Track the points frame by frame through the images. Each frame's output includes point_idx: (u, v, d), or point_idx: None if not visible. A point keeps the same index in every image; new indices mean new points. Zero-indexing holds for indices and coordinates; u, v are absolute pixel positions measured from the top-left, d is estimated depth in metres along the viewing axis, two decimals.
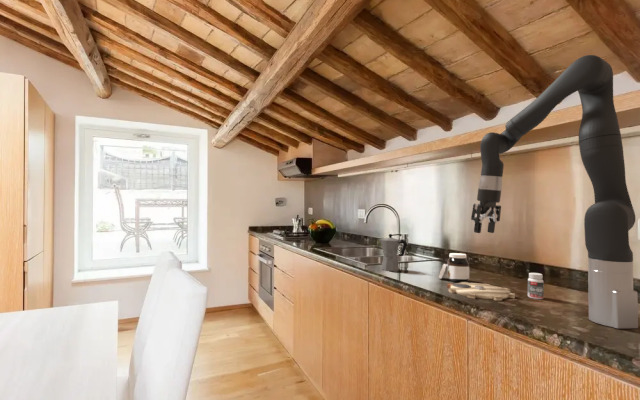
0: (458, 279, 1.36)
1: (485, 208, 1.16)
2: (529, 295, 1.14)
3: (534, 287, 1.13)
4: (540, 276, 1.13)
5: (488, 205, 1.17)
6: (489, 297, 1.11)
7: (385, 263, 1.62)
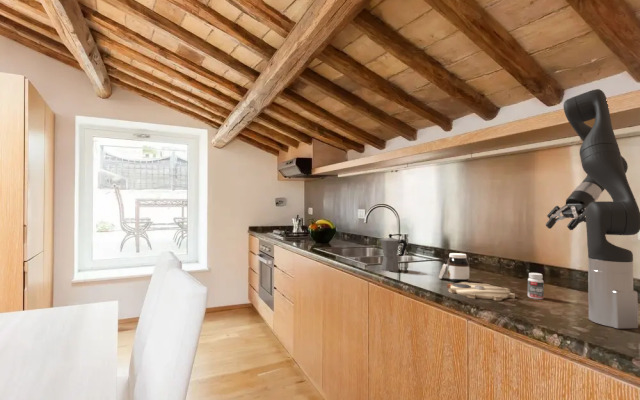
0: (458, 279, 1.36)
1: None
2: (529, 295, 1.14)
3: (534, 287, 1.13)
4: (540, 276, 1.13)
5: (570, 205, 1.21)
6: (489, 297, 1.11)
7: (385, 263, 1.62)
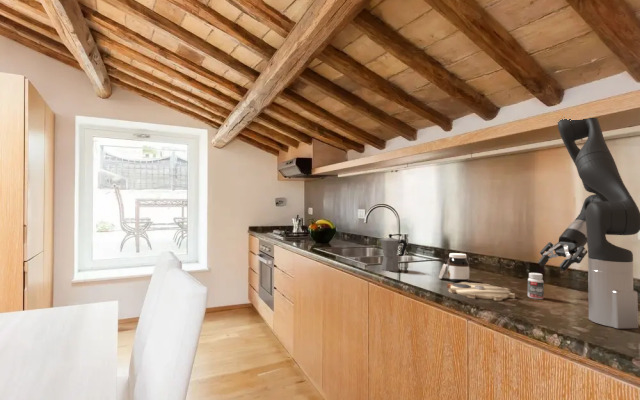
0: (458, 279, 1.36)
1: None
2: (529, 295, 1.14)
3: (534, 287, 1.13)
4: (540, 276, 1.13)
5: (563, 244, 1.19)
6: (489, 297, 1.11)
7: (385, 263, 1.62)
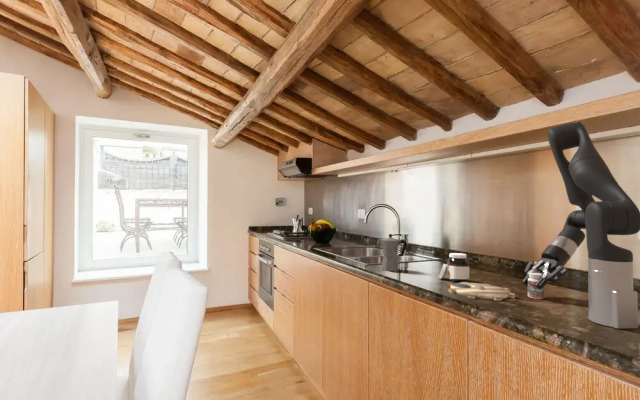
0: (458, 279, 1.36)
1: None
2: (529, 295, 1.14)
3: (534, 287, 1.13)
4: (540, 276, 1.13)
5: (545, 260, 1.17)
6: (489, 297, 1.11)
7: (385, 263, 1.62)
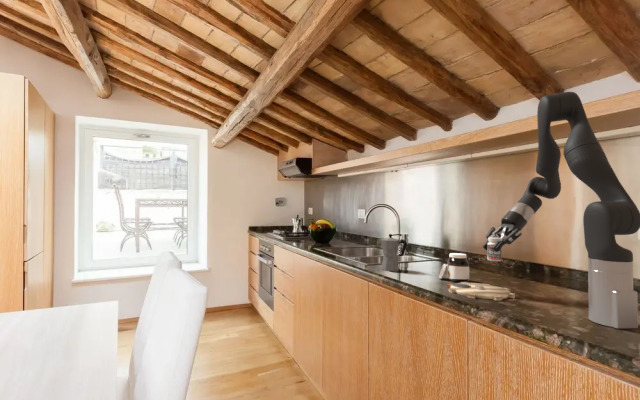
0: (458, 279, 1.36)
1: None
2: (488, 258, 1.21)
3: (492, 250, 1.20)
4: (498, 239, 1.20)
5: (504, 226, 1.24)
6: (489, 297, 1.11)
7: (385, 263, 1.62)
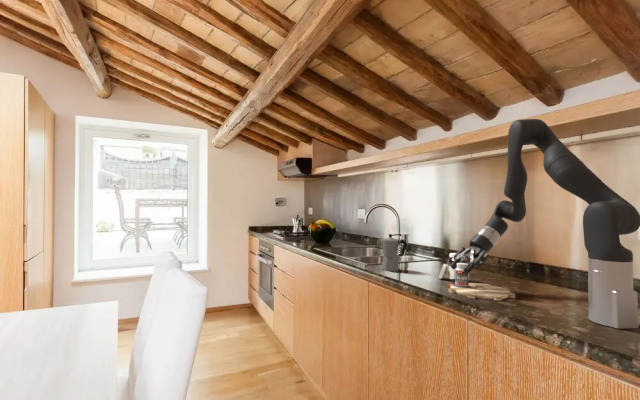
0: None
1: None
2: (456, 283, 1.25)
3: (459, 275, 1.24)
4: (465, 265, 1.24)
5: (471, 248, 1.28)
6: (489, 297, 1.11)
7: (385, 263, 1.62)
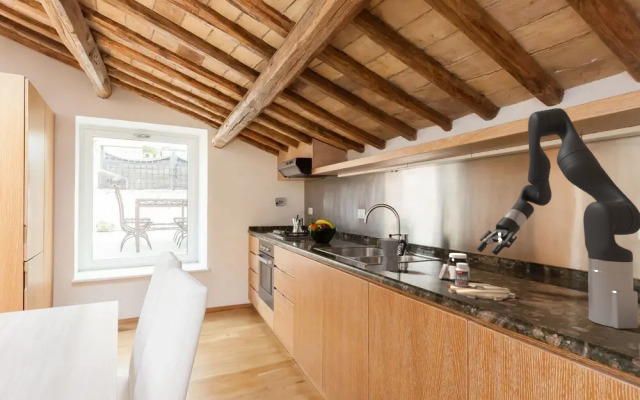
0: None
1: (493, 233, 1.32)
2: (456, 283, 1.25)
3: (459, 275, 1.24)
4: (465, 265, 1.24)
5: (498, 231, 1.30)
6: (489, 297, 1.11)
7: (385, 263, 1.62)
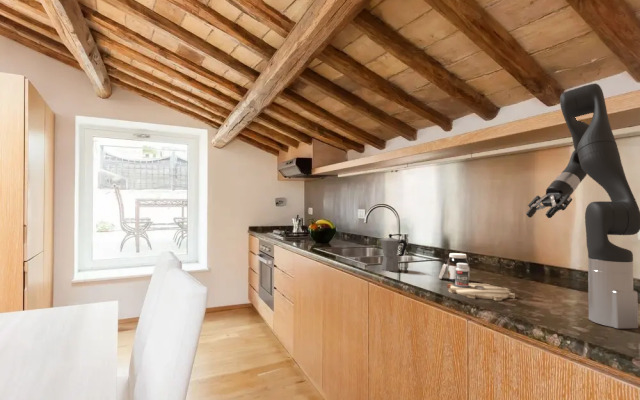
0: None
1: None
2: (456, 283, 1.25)
3: (459, 275, 1.24)
4: (465, 266, 1.24)
5: (549, 195, 1.25)
6: (489, 297, 1.11)
7: (385, 263, 1.62)
